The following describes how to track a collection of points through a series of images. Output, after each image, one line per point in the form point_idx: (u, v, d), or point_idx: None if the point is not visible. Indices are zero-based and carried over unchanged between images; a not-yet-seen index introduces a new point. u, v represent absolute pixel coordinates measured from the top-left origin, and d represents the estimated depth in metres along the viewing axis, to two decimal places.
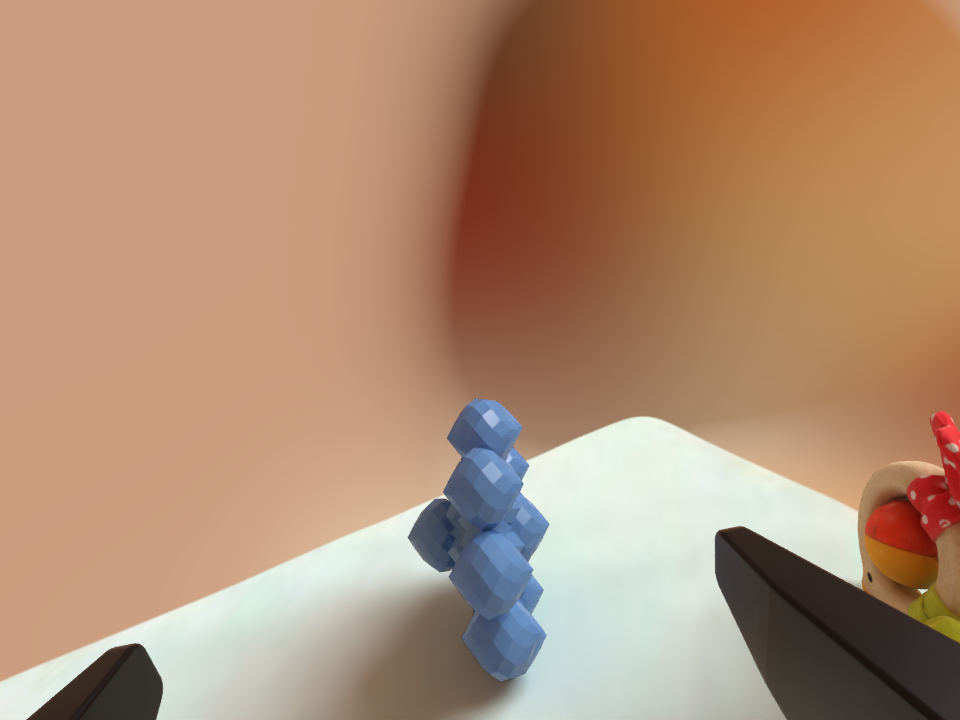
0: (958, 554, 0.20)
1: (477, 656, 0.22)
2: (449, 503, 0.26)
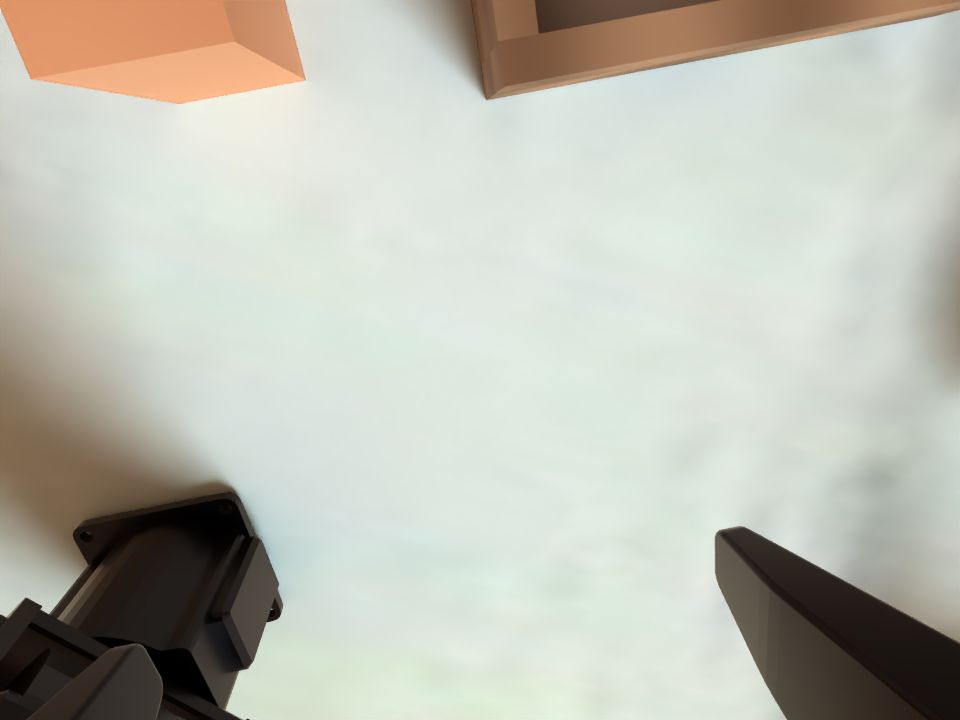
0: None
1: None
2: None
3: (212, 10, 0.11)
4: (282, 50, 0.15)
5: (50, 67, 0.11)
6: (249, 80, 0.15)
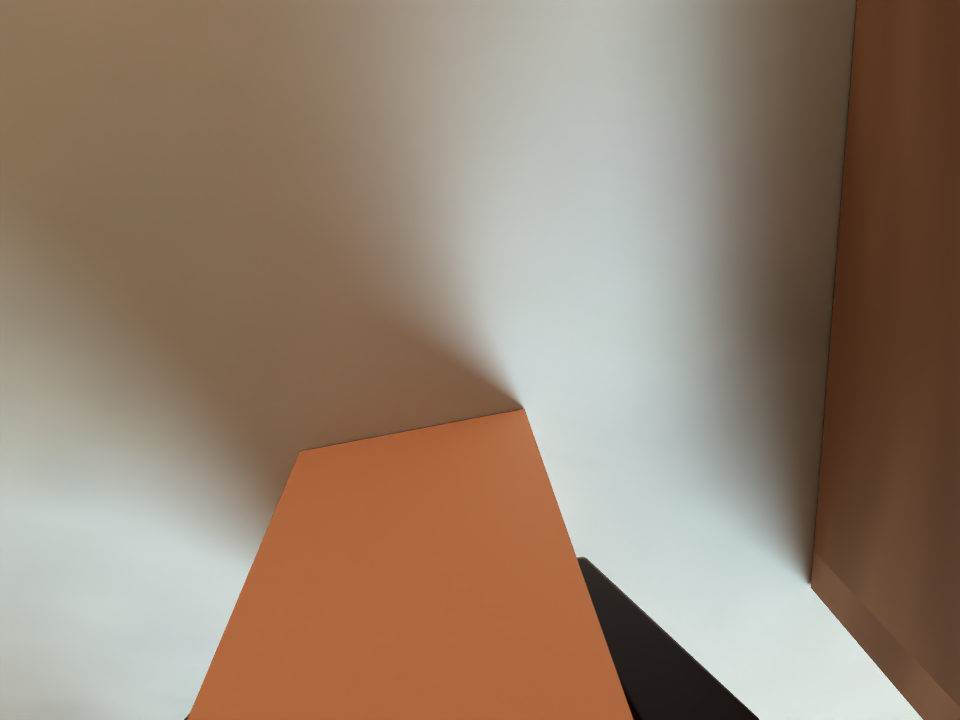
0: None
1: None
2: None
3: None
4: None
5: None
6: None
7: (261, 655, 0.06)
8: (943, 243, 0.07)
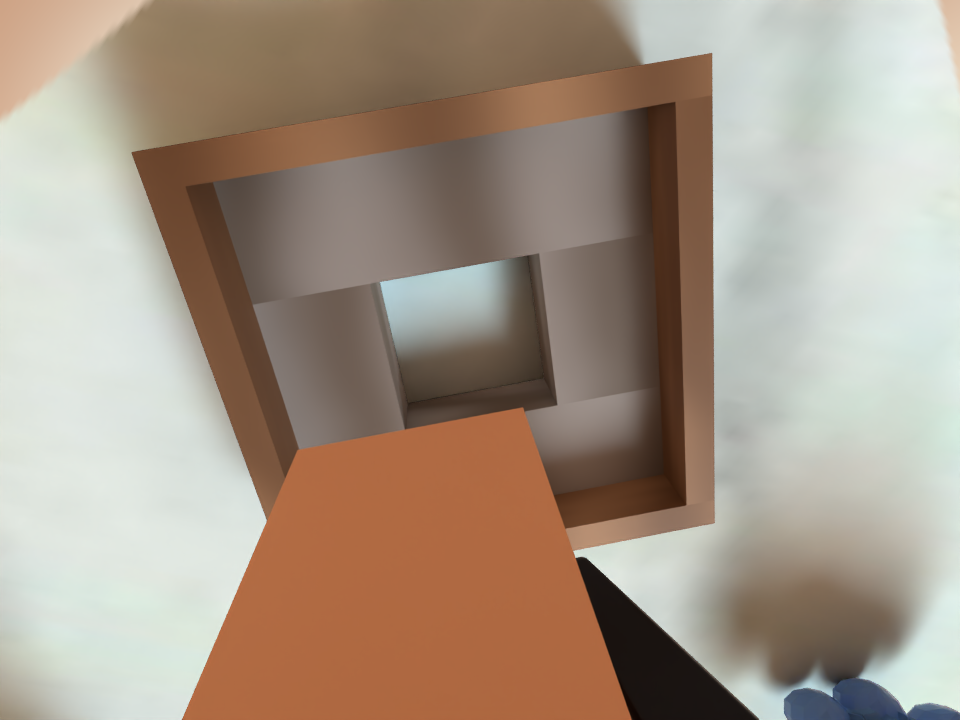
0: None
1: None
2: None
3: None
4: None
5: None
6: None
7: (257, 654, 0.06)
8: None
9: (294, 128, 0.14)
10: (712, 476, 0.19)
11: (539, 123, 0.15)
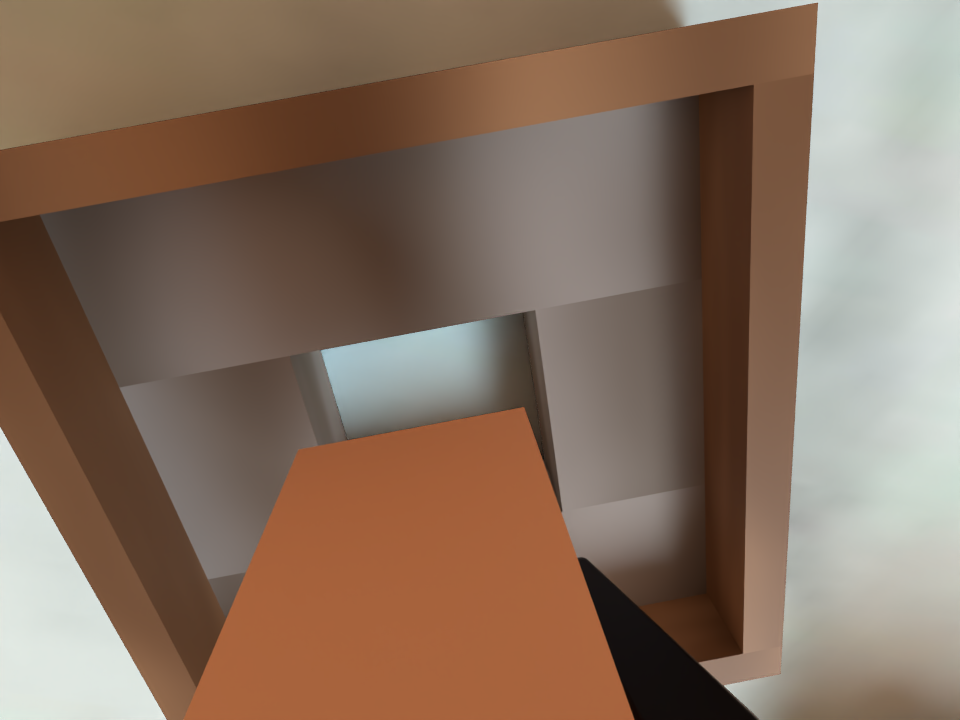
0: None
1: None
2: None
3: None
4: None
5: None
6: None
7: (258, 654, 0.06)
8: None
9: (127, 134, 0.09)
10: (781, 617, 0.14)
11: (531, 122, 0.09)
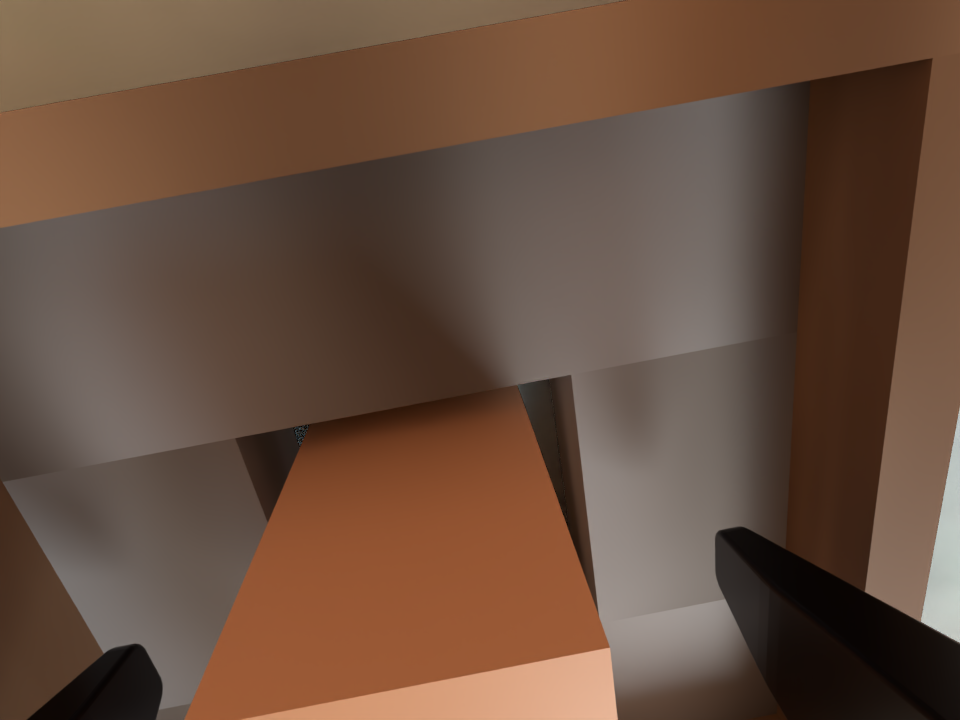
0: None
1: None
2: None
3: None
4: None
5: None
6: None
7: (302, 526, 0.08)
8: None
9: None
10: None
11: (586, 116, 0.06)
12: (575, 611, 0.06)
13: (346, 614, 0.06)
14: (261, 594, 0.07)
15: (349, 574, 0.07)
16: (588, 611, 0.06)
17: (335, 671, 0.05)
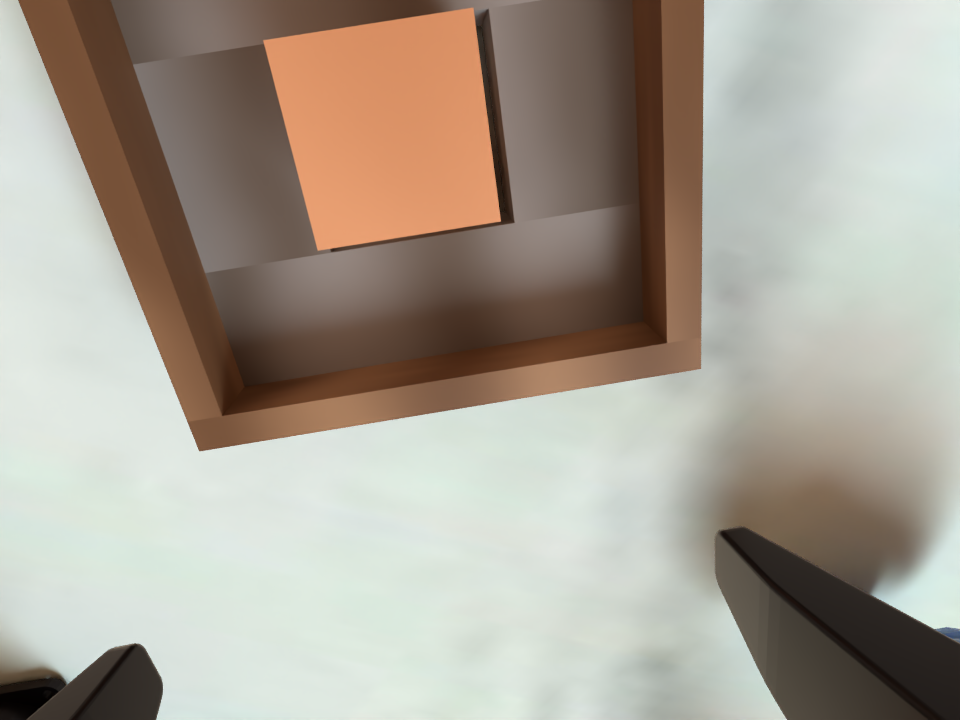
0: None
1: None
2: None
3: (486, 195, 0.12)
4: None
5: (336, 241, 0.12)
6: None
7: None
8: None
9: None
10: (699, 305, 0.16)
11: None
12: None
13: None
14: None
15: None
16: None
17: (339, 31, 0.11)
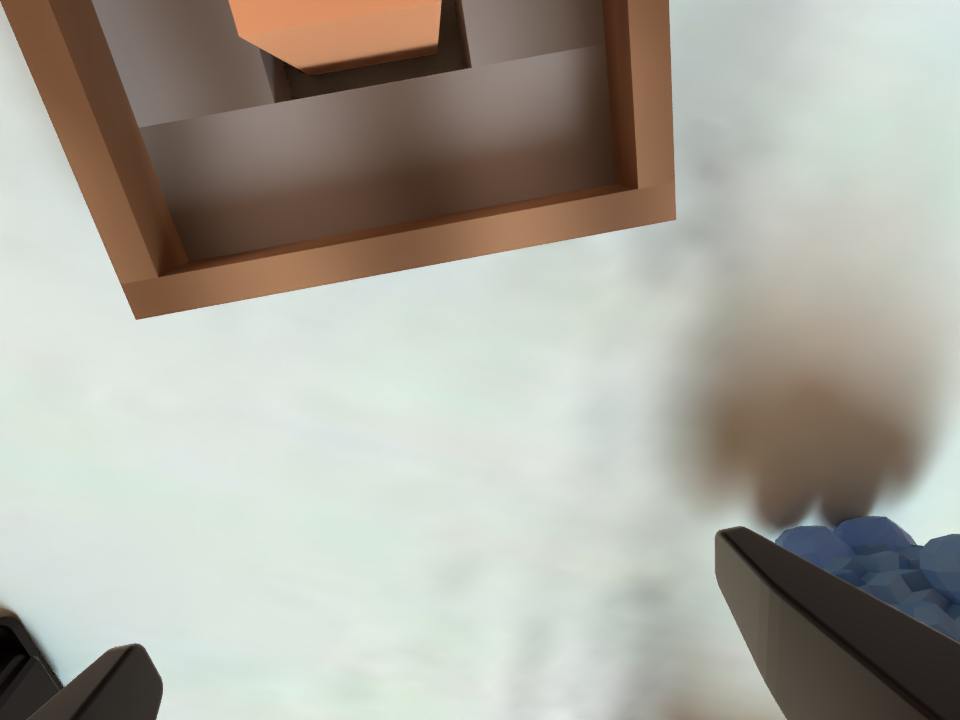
0: None
1: None
2: None
3: None
4: None
5: (259, 25, 0.11)
6: (395, 50, 0.15)
7: None
8: None
9: None
10: (671, 143, 0.15)
11: None
12: None
13: None
14: None
15: None
16: None
17: None
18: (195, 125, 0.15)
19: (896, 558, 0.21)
